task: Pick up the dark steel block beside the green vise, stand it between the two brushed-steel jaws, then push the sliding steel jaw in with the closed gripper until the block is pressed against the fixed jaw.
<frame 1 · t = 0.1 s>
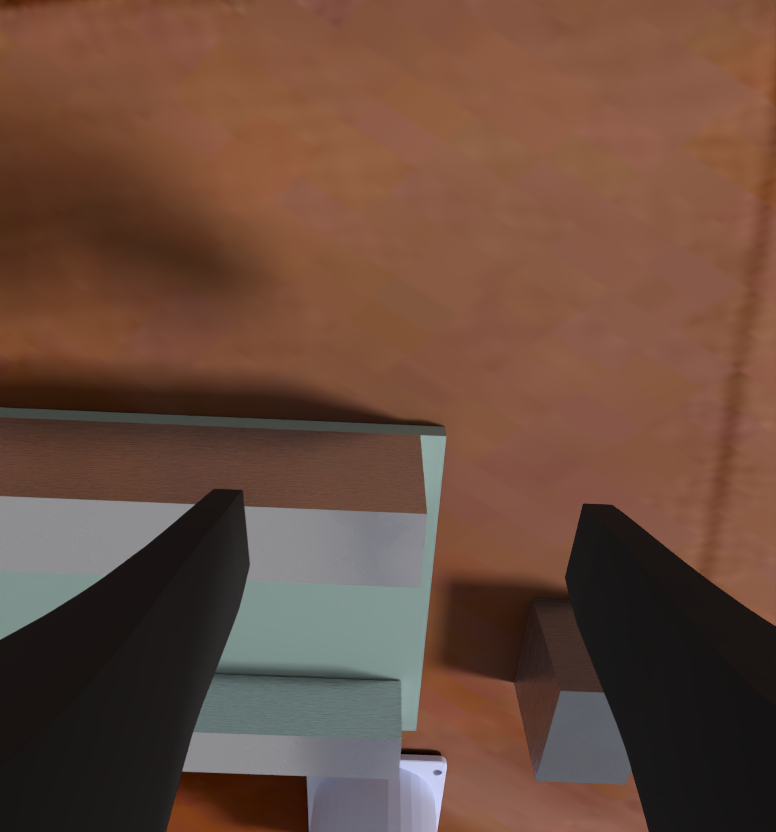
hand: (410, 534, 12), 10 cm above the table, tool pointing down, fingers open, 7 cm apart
steel block: (562, 642, 27), on the table
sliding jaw: (194, 721, 26), point 2 cm above the table, slide at 0.0 cm
vise base: (195, 584, 26), on the table
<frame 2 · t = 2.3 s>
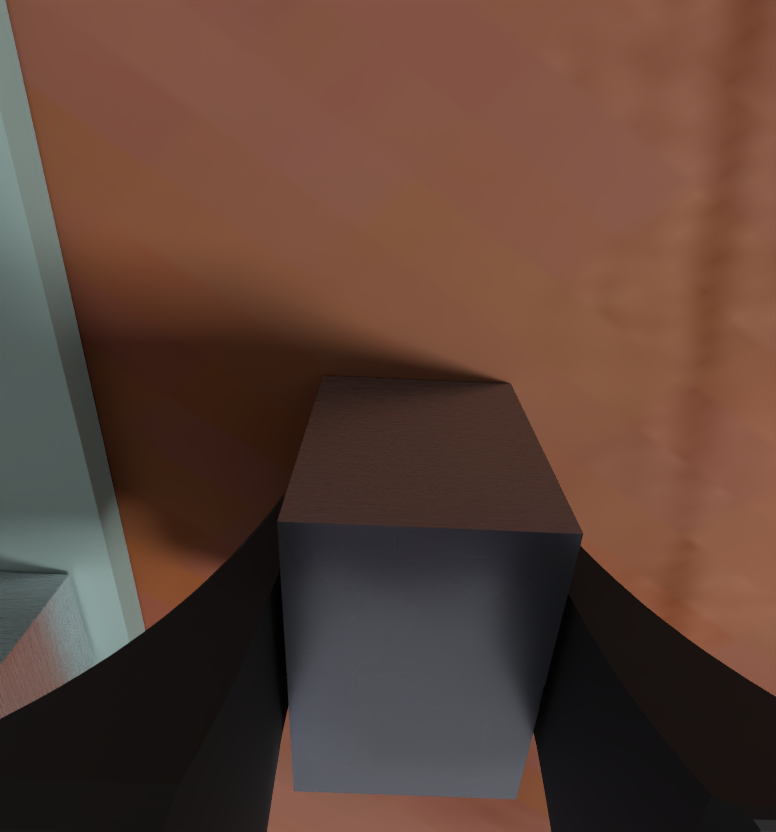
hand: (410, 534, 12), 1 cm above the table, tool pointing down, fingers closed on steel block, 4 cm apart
steel block: (408, 496, 13), on the table, touching gripper
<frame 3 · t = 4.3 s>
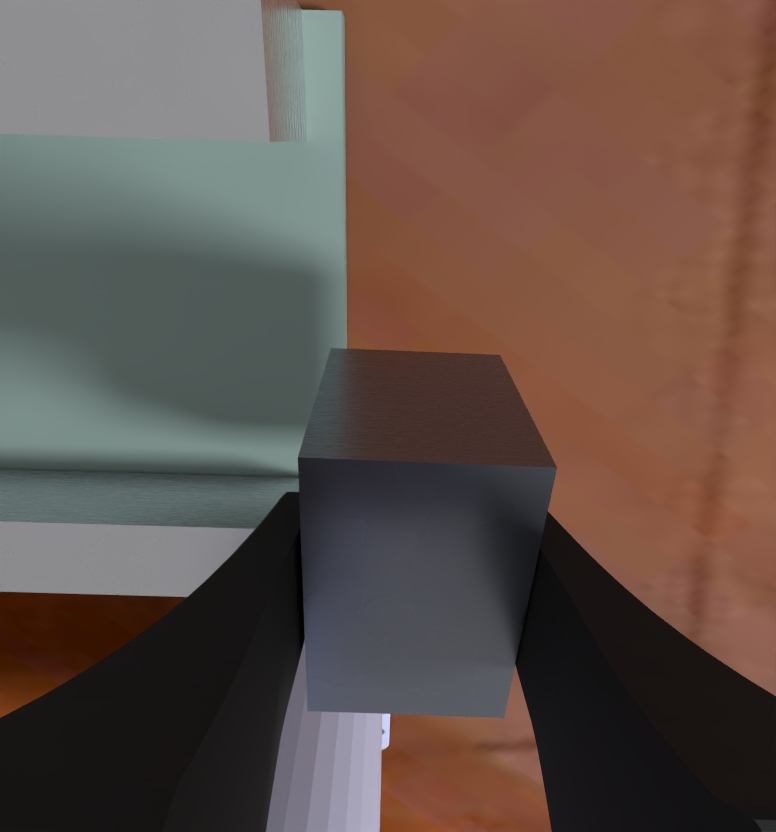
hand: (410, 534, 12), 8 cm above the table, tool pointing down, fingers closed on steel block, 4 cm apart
steel block: (408, 460, 14), point 5 cm above the table, touching gripper
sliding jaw: (32, 529, 19), point 2 cm above the table, slide at 0.0 cm
vise base: (23, 331, 18), on the table
when the fingers open (3 cm above the table, at t = 6.5 s): steel block stays where it is, resting on vise base.
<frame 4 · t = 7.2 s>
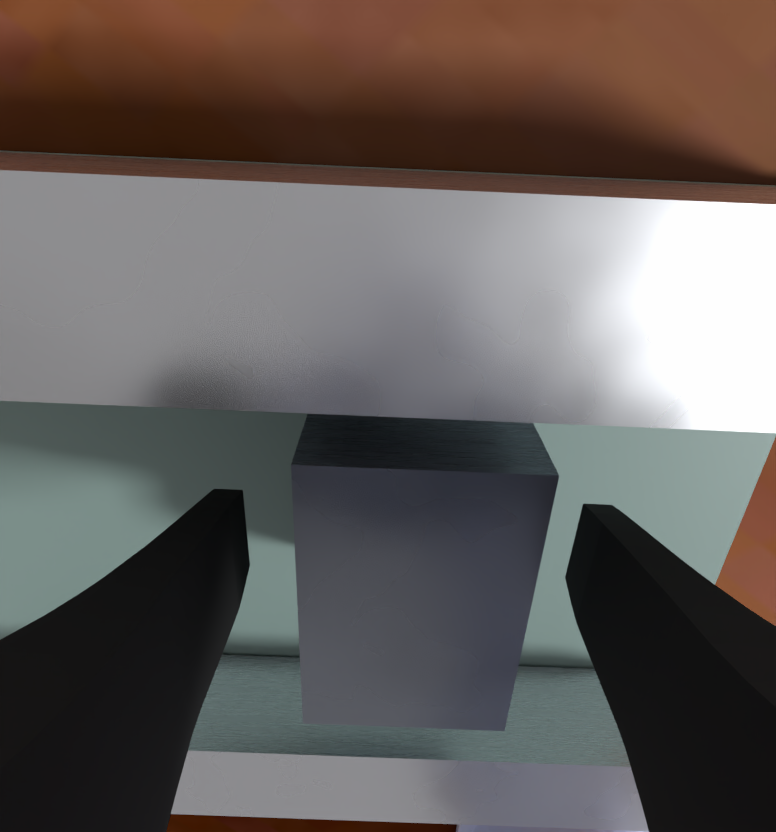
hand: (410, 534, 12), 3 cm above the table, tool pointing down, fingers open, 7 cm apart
steel block: (407, 465, 14), point 1 cm above the table, touching vise base
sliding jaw: (326, 735, 16), point 2 cm above the table, slide at 0.0 cm
vise base: (333, 511, 16), on the table
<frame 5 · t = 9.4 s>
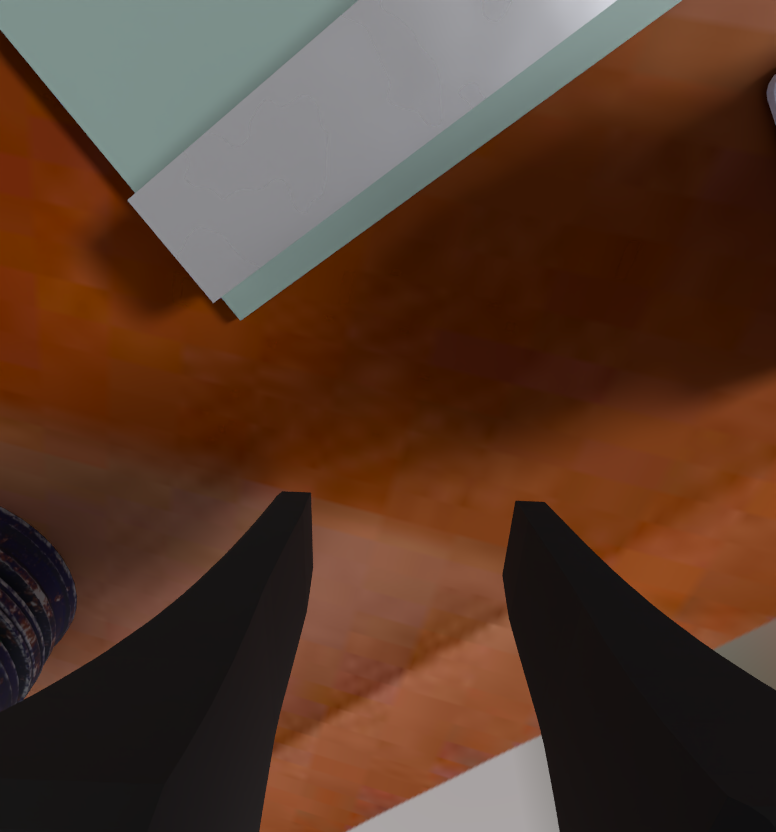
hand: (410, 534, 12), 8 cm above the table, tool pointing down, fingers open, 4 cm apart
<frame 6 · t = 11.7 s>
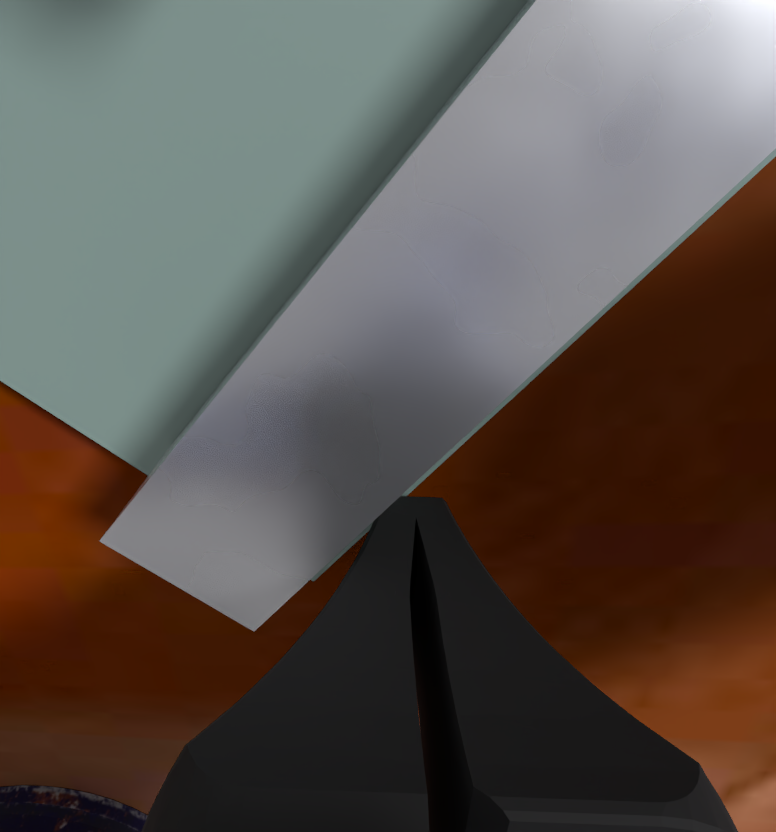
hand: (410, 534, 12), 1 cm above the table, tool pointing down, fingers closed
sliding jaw: (632, 68, 7), point 2 cm above the table, slide at 0.6 cm, touching gripper
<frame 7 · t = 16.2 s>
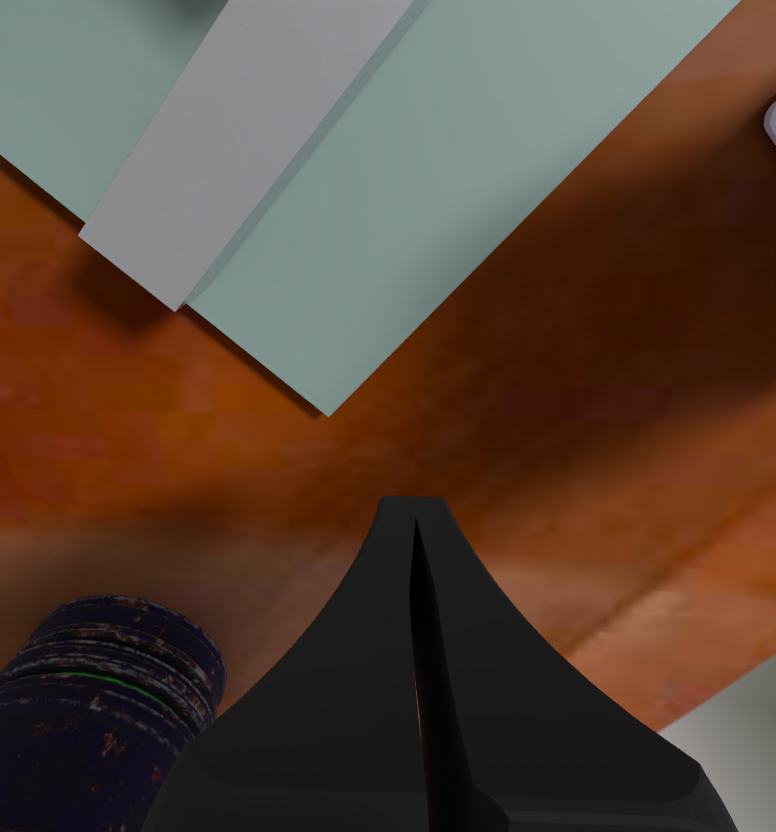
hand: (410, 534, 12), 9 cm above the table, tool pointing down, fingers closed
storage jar: (132, 663, 28), on the table
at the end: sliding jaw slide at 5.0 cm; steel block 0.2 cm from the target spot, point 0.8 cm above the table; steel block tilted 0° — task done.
